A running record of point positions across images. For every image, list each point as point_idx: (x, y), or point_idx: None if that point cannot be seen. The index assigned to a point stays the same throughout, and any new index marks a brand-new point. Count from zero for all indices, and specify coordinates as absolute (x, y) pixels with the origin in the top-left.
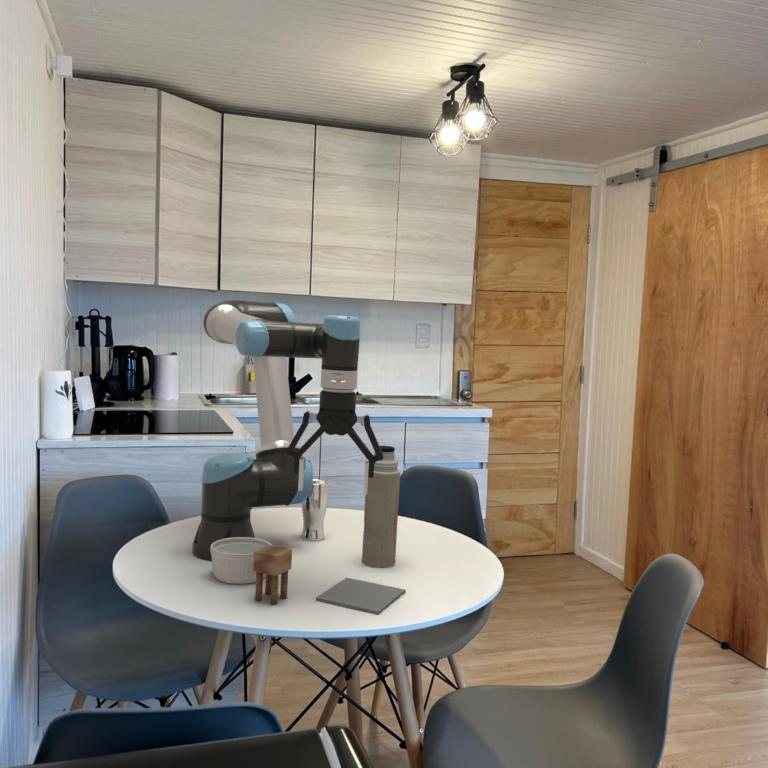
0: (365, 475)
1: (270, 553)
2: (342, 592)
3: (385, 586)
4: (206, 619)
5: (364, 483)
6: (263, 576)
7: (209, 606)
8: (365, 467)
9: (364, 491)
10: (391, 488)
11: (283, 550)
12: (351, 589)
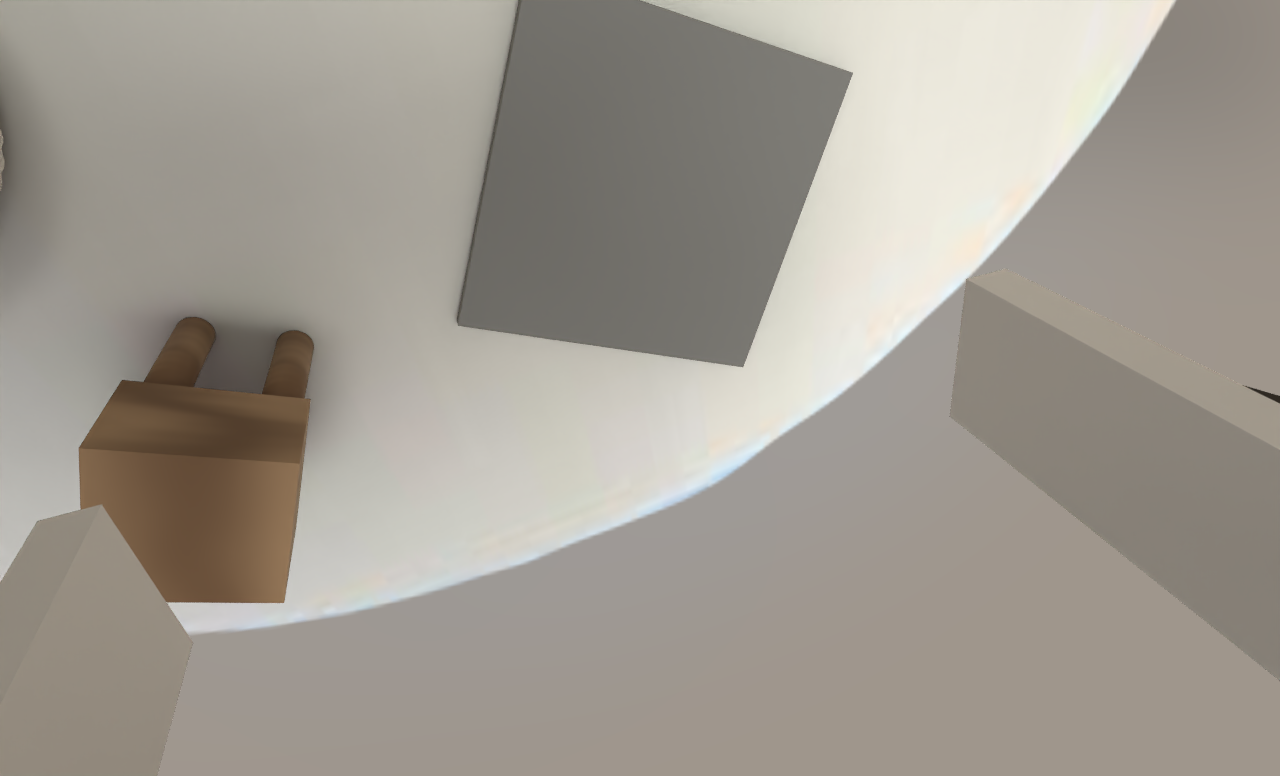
0: (1145, 556)
1: (210, 582)
2: (562, 217)
3: (758, 58)
4: None
5: (1046, 488)
6: (2, 138)
7: (17, 551)
8: (1259, 658)
9: (979, 431)
10: None
11: (257, 507)
12: (597, 161)
